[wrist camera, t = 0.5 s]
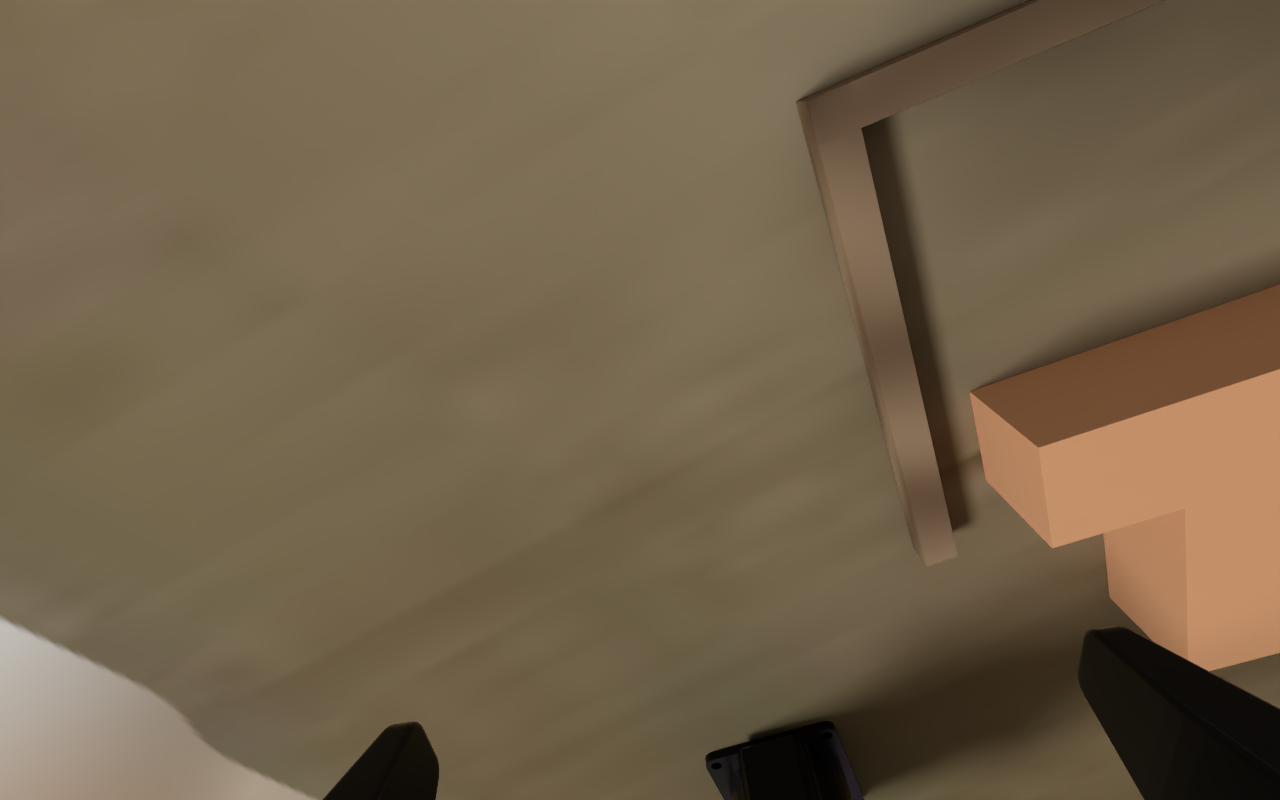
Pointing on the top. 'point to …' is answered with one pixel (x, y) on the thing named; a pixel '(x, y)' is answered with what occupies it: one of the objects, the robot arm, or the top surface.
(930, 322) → the top surface
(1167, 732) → the robot arm
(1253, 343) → the t puck
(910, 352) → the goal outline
